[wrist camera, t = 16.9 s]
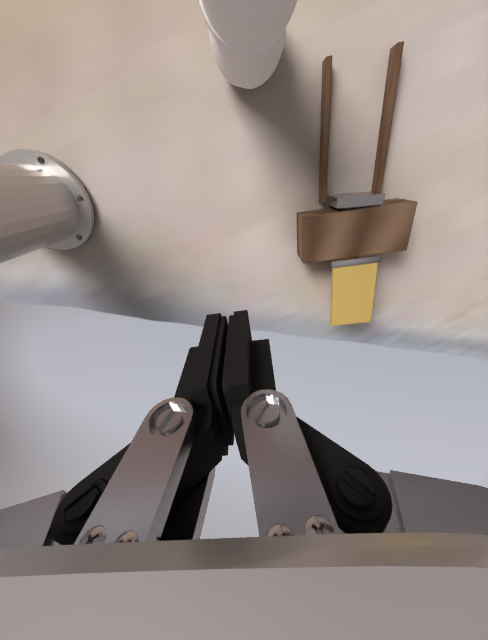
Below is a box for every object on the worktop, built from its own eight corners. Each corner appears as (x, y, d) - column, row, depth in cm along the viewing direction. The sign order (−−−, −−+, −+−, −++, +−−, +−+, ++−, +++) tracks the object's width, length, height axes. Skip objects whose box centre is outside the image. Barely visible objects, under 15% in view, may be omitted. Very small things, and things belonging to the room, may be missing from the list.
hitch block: (297, 253, 37) (303, 263, 33) (294, 67, 26) (302, 49, 22) (389, 241, 36) (406, 249, 32) (426, 41, 25) (459, 18, 21)
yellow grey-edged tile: (328, 324, 38) (330, 327, 37) (330, 260, 33) (332, 262, 32) (370, 319, 37) (373, 322, 36) (377, 254, 33) (381, 256, 32)
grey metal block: (356, 268, 39) (367, 278, 35) (320, 271, 39) (327, 280, 36) (370, 191, 33) (385, 193, 29) (328, 195, 33) (337, 197, 30)
